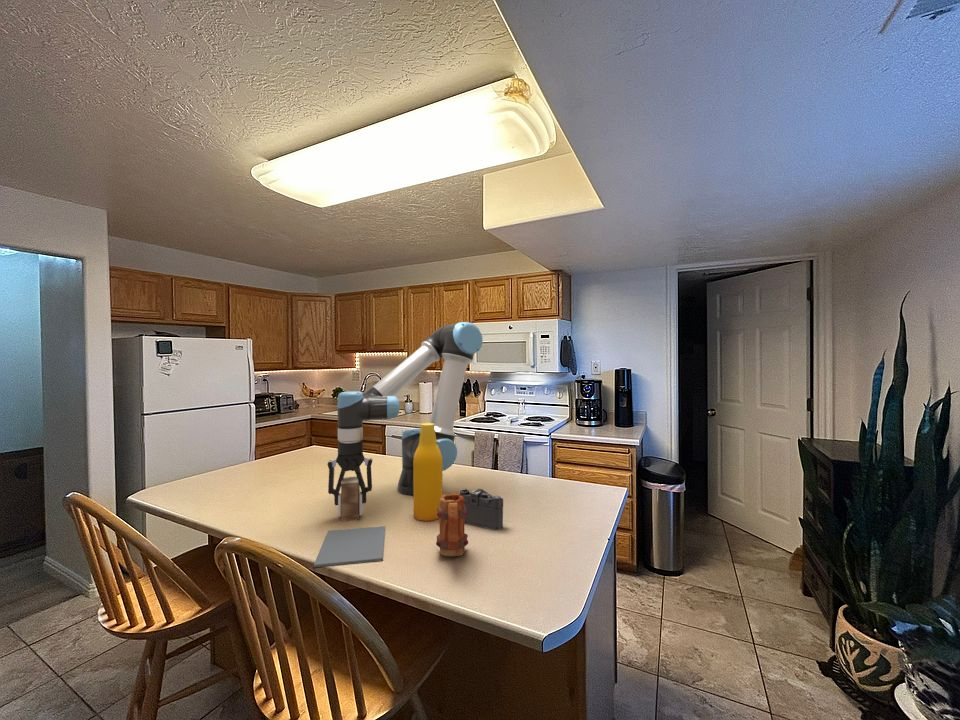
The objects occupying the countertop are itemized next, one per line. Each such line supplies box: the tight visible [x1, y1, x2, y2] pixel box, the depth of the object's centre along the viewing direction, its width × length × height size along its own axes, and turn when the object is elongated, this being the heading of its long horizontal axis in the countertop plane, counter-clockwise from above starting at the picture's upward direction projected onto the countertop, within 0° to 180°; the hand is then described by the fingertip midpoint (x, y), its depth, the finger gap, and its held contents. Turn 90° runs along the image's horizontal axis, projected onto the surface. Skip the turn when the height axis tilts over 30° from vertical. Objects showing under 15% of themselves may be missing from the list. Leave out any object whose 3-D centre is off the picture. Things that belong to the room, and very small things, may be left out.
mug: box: [435, 492, 469, 558], centre depth 102 cm, size 15×8×15 cm, turn 5°
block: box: [340, 475, 361, 522], centre depth 129 cm, size 5×5×12 cm
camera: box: [458, 487, 504, 531], centre depth 125 cm, size 14×11×10 cm
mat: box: [313, 525, 386, 568], centre depth 109 cm, size 16×20×1 cm
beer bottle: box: [412, 422, 444, 522], centre depth 129 cm, size 9×9×29 cm
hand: (350, 514), depth 129 cm, fingers open, 6 cm apart
